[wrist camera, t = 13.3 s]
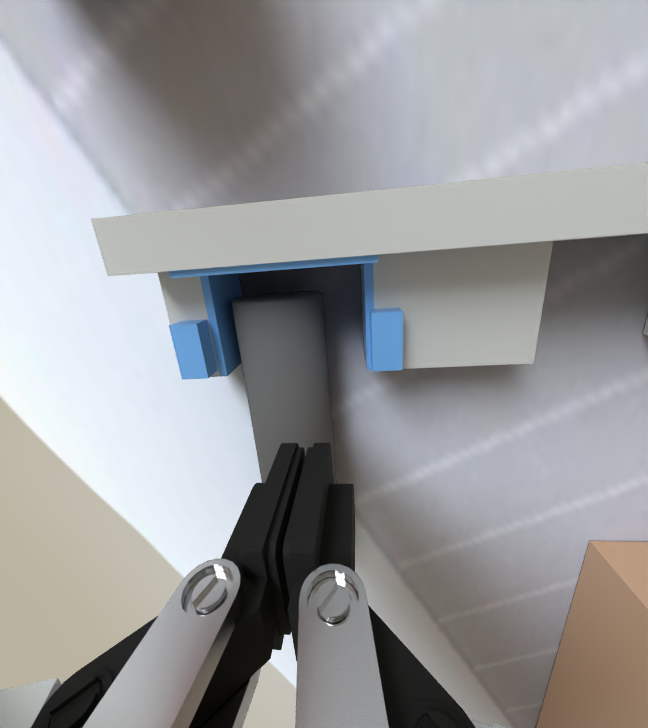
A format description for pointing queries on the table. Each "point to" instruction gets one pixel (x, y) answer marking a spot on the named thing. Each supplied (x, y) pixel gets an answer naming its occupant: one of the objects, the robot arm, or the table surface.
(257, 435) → the grey cylindrical rod
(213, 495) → the table surface
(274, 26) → the table surface
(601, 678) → the open brown box
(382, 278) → the panel with blue tabs
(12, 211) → the table surface
